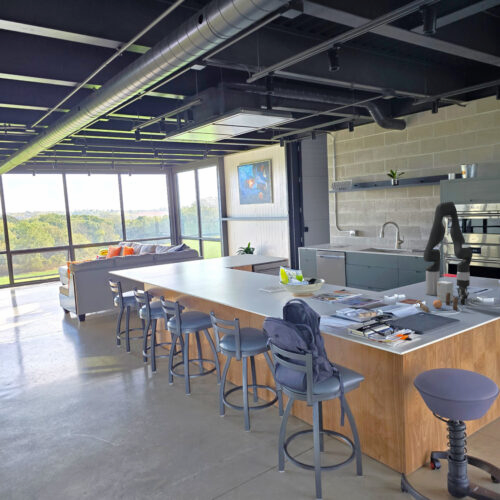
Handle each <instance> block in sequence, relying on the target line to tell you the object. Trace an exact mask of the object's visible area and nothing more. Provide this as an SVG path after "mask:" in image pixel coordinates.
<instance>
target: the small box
mask: <svg viewBox="0 0 500 500" xmlns="http://www.w3.org/2000/svg"><path fill="white" fill-rule="evenodd" d="M446 293H450V303H451V302H453V297H454V282H452V281H446V280H441V281H440V280H439V282H437V295H436V296H437V297H436V298H437V299H436V300H440V301H441V302H444V303H446Z"/></svg>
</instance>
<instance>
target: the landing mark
mask: <svg viewBox="0 0 500 500" xmlns="http://www.w3.org/2000/svg"><path fill="white" fill-rule="evenodd" d="M424 305H425V306H427V307H428V308H429V312H430V311H451V310H452V308H450V307H448V305H446V304H442V307H441V308H435V307H434V306H433V304H424Z"/></svg>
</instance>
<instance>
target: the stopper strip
mask: <svg viewBox="0 0 500 500" xmlns="http://www.w3.org/2000/svg"><path fill="white" fill-rule="evenodd" d="M416 303H419V304H420V307H419V308H420V309H421V310H422V311H424V312H425V313H429V312H430V310H429V308H428V307H427V306H425V305H426V304H424V303H423V302H422V301H421V300H416V301H415V304H416Z"/></svg>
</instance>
